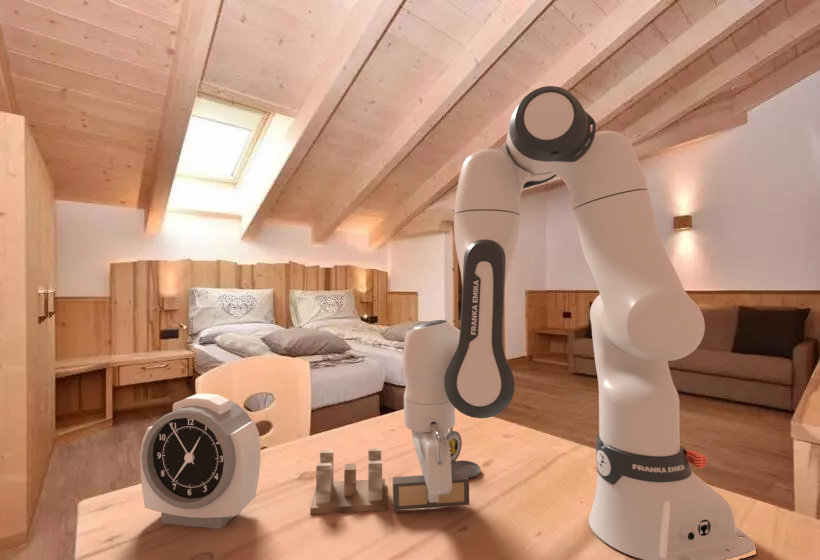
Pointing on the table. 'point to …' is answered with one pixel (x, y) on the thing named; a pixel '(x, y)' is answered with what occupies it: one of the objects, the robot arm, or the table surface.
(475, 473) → the pocket watch
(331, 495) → the display stand
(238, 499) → the alarm clock
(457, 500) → the long grey beam
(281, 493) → the table surface
